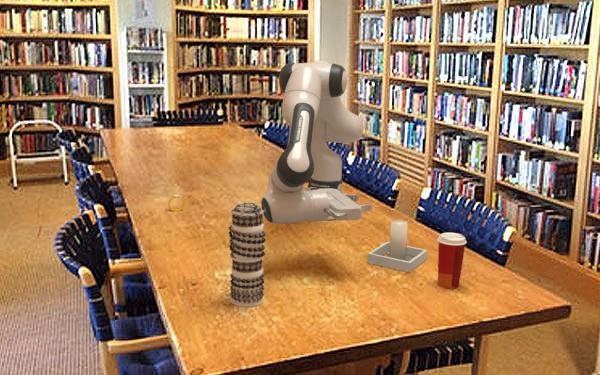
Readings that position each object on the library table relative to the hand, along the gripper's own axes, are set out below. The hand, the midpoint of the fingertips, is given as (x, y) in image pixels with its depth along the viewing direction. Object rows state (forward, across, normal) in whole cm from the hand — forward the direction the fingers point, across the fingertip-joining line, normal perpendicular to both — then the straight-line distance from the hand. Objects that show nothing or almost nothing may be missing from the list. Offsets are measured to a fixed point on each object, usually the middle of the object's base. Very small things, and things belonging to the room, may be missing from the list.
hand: (363, 202), depth 181 cm
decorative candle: (-39, -17, +18) cm, 46 cm away
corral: (+12, -1, +19) cm, 23 cm away
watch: (-46, +71, +21) cm, 87 cm away
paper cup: (+17, -21, +19) cm, 33 cm away
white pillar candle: (+12, -1, +19) cm, 22 cm away
